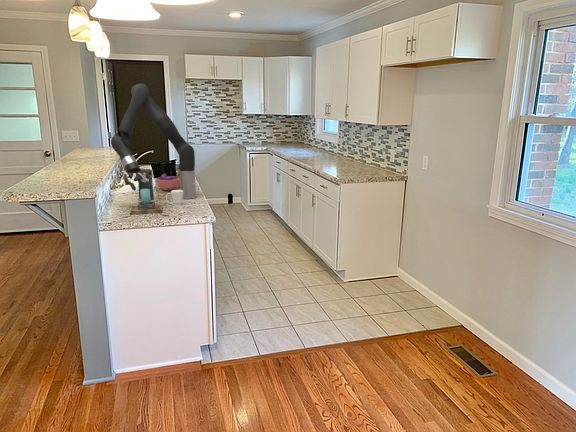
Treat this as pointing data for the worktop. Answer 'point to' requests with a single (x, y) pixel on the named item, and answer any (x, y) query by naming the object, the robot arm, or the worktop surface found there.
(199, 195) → the worktop surface
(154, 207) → the walnut base
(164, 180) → the cell model
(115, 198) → the worktop surface
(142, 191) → the teal peg
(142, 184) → the coffee jar
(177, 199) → the cup
